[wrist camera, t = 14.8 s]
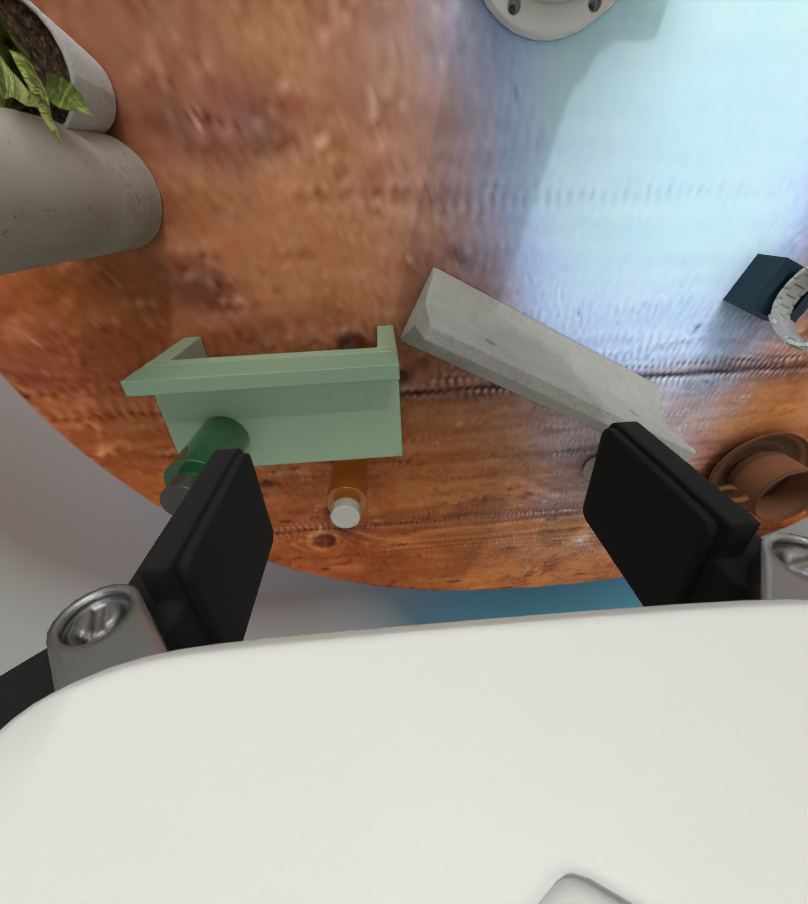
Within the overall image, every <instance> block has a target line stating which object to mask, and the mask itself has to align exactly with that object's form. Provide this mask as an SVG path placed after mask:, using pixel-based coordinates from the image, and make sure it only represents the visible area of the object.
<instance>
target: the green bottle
mask: <svg viewBox="0 0 808 904" xmlns="http://www.w3.org/2000/svg"><path fill="white" fill-rule="evenodd" d="M249 443H250V440H249V435H248V433H247V431H246V429H245V428H244V427H243V426H242V425H241V424H240V423H238V422H237V421H235V420H233V419H231V418H228V417H222V416H217V417H212V418H209V419H207V420H206V421H205V422H204V423H203V424H202V425H201V426H200V427H199V429H198V430H197V431H196V433H195V434H194V435H193V436H192V438H191V439H190V440H189V441H188V443H187V444H186V445H185V446H184V448H183V449H182V450H181V452H180V453H179V454H178V455H177V457H176V458H175V459H174V460H173V462H172V463H171V464H170V465H169V467H168V468H167V470H166V471H165V475H164V481H165V485H166V487H165V489H164V490H163V491H162V493H161V495H160V503H161V505H162V507H163V508H164V509H165V510H166V511H167V512H168V513H169V514H171V515H173V514H174V513H175V511H176V510H177V508H178V507H179V505H180V504H181V502H182V501H183V499H184V498H185V496H186V494H187V493H188V491H189V490H190V488H191V487H192V485H193V484H194V482H195V481H196V479H197V478H198V476H199V475H200V473H201V471H202V470H203V468H204V467H205V465H206V464H207V462H208V461H209V459H210V458H211V456H212V455H213V453H214V452H215V451H216V450H219V449H233V448H240V449H241V450H242V451H243V453H246V451H247V449H248V447H249Z"/></svg>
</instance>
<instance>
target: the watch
mask: <svg viewBox="0 0 808 904" xmlns="http://www.w3.org/2000/svg"><path fill="white" fill-rule="evenodd" d="M723 300H725V301H727V302H729V303H731V304H733V305H735V306H737V307H739V308H741V309H743V310H745V311H747V312H749V313H751V314H753V315H755V316H757V317H759V318H761V319H763V320H766V321H769V322H770V325H771V327H772V329H773V331H774V333H775V334H776V335H777V336H778V337H779V339H780V340H782V341H783V342H784V343H785V344H787V345H789V346H791V347H793V348H795V349H797V350H799V351H805V352H808V342H806V341H805V340H804V339H803V338H802V337H801V336H800V334H799V333H798V331H797V329H796V326H795V322H796V321H797V320H798V318H799V317H800V316H801V315H802V314H803V313H804V312H805V310H806V309H807V308H808V265H807V266H806V267H803V266H801V265H799V264H798V263H796V262H794V261H792V260H791V259H789V258H786V257H778V256H770V255H762V254H758V255H757V256H756V257H755V259H754V260H753V261H752V263H751V264H750V265H749V267H748V268H747V269H746V271H745V272H744V273H743V274H742V276H741V277H740V278H739V280H738V281H737V282H736V284H735V285H734V286H733V288H732V289H731V290H730V292H729V293H728V294H727V296H726V297H725V298H724V299H723Z"/></svg>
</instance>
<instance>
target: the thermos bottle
mask: <svg viewBox="0 0 808 904" xmlns="http://www.w3.org/2000/svg"><path fill="white" fill-rule="evenodd" d="M53 121H54V120H53ZM54 124H55V126H56V128H57V130H58V132H59V137H60V141H61V144H62V145H63V146H64V147H63V146H62V145H61V144H60V143H59V141H58V140H57V139H56V137H55V136H54V134H53V133H52V132H51V130H50V129H49V127H48V126H47V124H46V123H45V121H44V119H43V117H40V116H37V115H33V114H29V113H25V112H21V111H18V110H14V109H9V108H4V107H0V275H2V274H7V273H12V272H18V271H23V270H28V269H34V268H39V267H44V266H49V265H53V264H58V263H62V262H66V261H72V260H80V259H87V258H92V257H98V256H103V255H108V254H114V253H119V252H124V251H130V250H135V249H139V248H141V247H143V246H145V245H147V244H148V243H150V242H151V241H152V240H153V239H154V238H155V236H156V234H157V233H158V231H159V228H160V225H161V222H162V213H163V212H162V201H161V197H160V193H159V190H158V187H157V185H156V182H155V180H154V178H153V176H152V175H151V173H150V171H149V170H148V168H147V166H146V165H145V164H144V163H143V162H142V160H141V159H140V158H139V157H138V156H137V155H136V154H135V153H134V152H133V151H132V150H131V149H130V148H129V147H128V146H126V145H125V144H123V143H122V142H121V141H119V140H118V139H116V138H114V137H112V136H109V135H107V134H105V133H100V132H94V131H84V130H76V129H66V128H65V127H63V126H62V124H60V123H58V122H56V121H54Z"/></svg>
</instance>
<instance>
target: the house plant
mask: <svg viewBox="0 0 808 904" xmlns="http://www.w3.org/2000/svg"><path fill="white" fill-rule="evenodd" d="M0 107H4V108H9V109H14V110H18V111H21V112H25V113H29V114H33V115H37V116H40V117H43V119H44V121H45V123H46V124H47V126H48V127H49V129H50V130H51V132H52V133H53V134H54V136H55V137H56V139H57V140H58V141H59V143H60V144H61V141H60V137H59V132H58V130H57V128H56V126H55V124H54V121H56V122H58V123H60V124H62V126H63V127H65V128H66V129H76V130H84V131H94V132H100V133H105V132H106V131H107V130H108V129H109V128H111V126H112V124H113V122H114V120H115V115H116V99H115V94H114V91H113V87H112V84H111V82H110V80H109V78H108V76H107V74H106V72H105V70H104V69H103V68H102V67H101V66H100V65H99V64H98V63H97V61H96V60H95V59H94V58H93V57H91V56H90V55H89V54H88V53H87V52H86V51H85V50H84V49H83V48H82V47H80V46H79V45H78V44H77V43H76V42H75V41H74V40H73V39H71V38H70V37H69V36H68V35H67V34H66V33H65V32H64V31H63V30H61V29H60V28H59V27H58V26H57V25H56V24H55V23H54V22H52V21H51V20H50V19H49V18H48V17H47V16H46V15H45V14H44V13H42V12H41V11H40V10H39V9H38V8H37V7H36V6H35V5H33V4H32V3H31V2H30V1H29V0H0ZM53 120H54V121H53ZM61 145H62V144H61ZM62 146H63V145H62ZM63 147H64V146H63Z"/></svg>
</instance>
